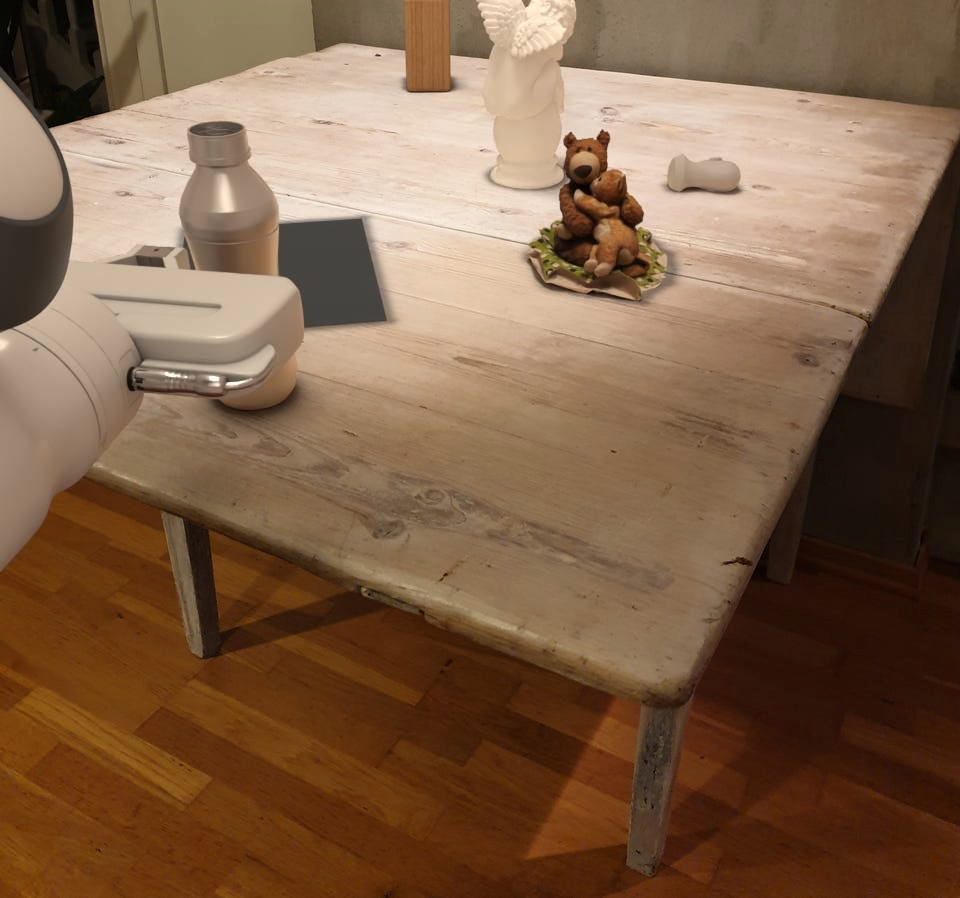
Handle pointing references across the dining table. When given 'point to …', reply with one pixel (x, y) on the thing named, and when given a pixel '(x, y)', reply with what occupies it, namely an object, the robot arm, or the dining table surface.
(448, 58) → the decorative item
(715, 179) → the pale two-lobed sculpture
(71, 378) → the robot arm
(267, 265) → the plastic bottle
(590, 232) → the bear figurine
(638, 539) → the dining table surface
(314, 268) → the mat
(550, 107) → the cherub figurine
